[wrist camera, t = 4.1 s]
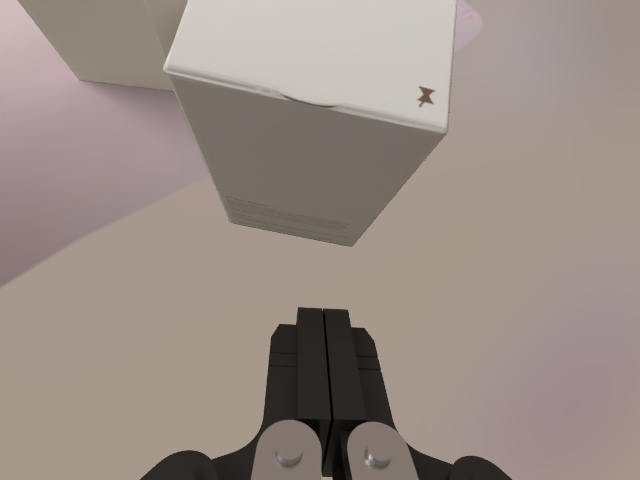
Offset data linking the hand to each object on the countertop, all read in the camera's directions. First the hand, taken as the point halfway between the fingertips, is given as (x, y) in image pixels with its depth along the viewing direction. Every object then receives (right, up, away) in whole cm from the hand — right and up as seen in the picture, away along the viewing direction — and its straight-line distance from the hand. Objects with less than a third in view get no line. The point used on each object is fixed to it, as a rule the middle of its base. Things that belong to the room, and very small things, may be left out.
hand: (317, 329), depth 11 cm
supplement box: (-1, +7, +15) cm, 17 cm away
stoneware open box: (-14, +17, +16) cm, 27 cm away
